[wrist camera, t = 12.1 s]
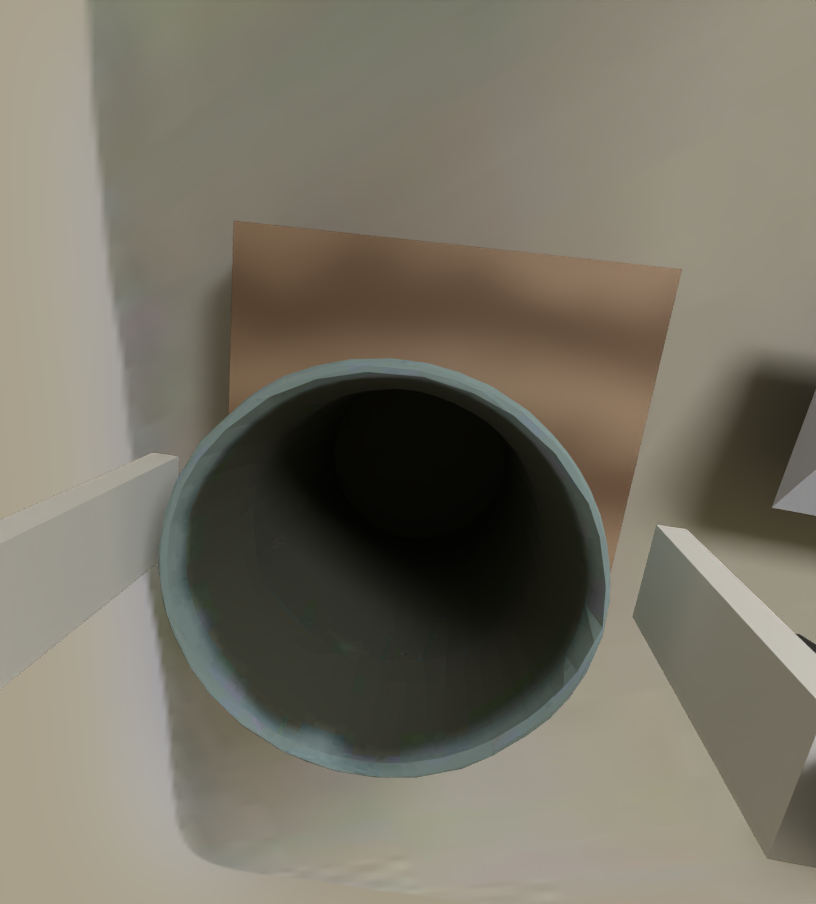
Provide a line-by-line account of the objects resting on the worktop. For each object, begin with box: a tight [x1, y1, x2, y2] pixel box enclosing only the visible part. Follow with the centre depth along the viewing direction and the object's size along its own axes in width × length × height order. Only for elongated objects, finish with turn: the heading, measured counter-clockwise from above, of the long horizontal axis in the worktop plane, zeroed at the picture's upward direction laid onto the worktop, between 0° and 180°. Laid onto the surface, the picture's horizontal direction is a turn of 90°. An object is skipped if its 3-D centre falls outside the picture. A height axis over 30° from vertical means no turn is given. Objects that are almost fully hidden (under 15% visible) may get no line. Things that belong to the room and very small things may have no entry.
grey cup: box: [159, 358, 610, 777], centre depth 17 cm, size 10×10×12 cm
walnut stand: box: [229, 221, 682, 573], centre depth 25 cm, size 18×18×4 cm
